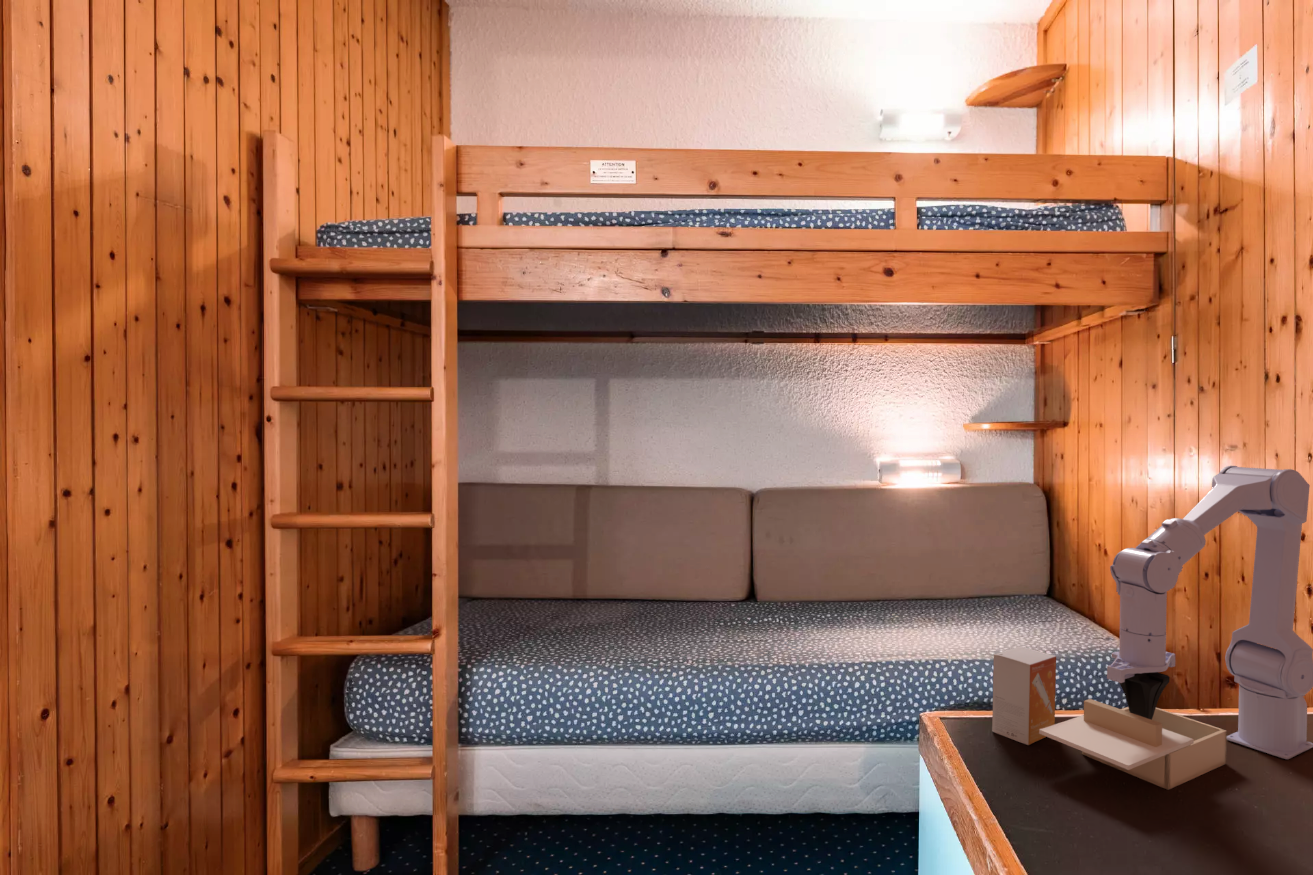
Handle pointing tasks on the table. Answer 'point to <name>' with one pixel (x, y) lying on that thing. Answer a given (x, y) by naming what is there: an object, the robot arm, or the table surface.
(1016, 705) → the small box
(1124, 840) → the table surface
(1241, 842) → the table surface
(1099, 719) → the lid
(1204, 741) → the box
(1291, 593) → the robot arm
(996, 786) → the table surface
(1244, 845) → the table surface
